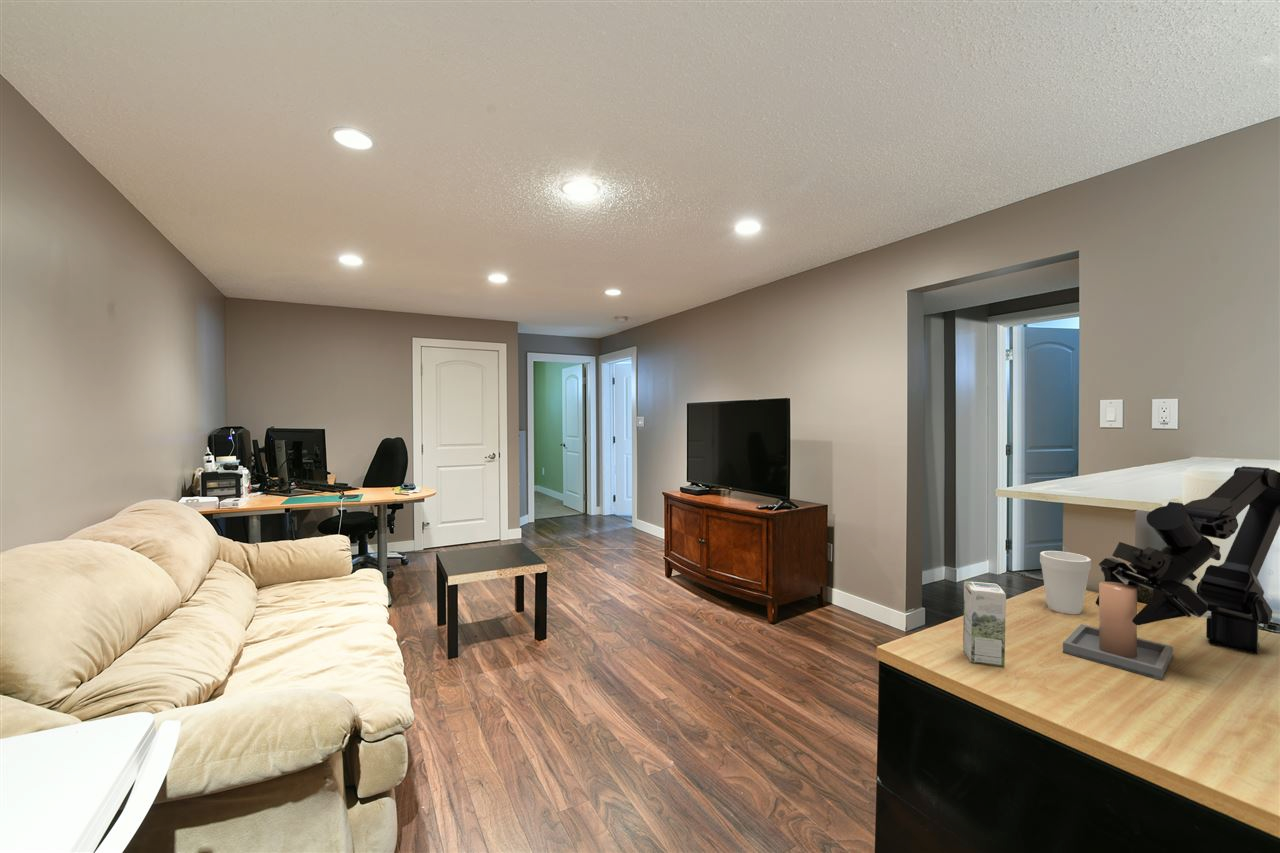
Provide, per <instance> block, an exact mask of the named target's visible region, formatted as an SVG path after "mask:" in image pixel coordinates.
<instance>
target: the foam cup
mask: <svg viewBox="0 0 1280 853" xmlns="http://www.w3.org/2000/svg"><path fill="white" fill-rule="evenodd" d="M1039 563H1040V565H1041V572H1042V578H1043V585H1044V593H1045V600H1046V604H1047V608H1048V609H1050V610H1052V611H1054V612H1057V613H1061V614H1066V615H1080V614H1081V613H1082V610H1083V608H1084V607H1083V606H1084V600H1085V596H1086V590H1087V585H1088V580H1089V576H1090V575H1089V574H1090V570H1092V559H1091V558H1090V557H1088V556H1086V555H1082V554H1078V553H1074V552H1068V551H1060V550H1045V551H1044V550H1043V551H1041V552H1039Z"/></svg>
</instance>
